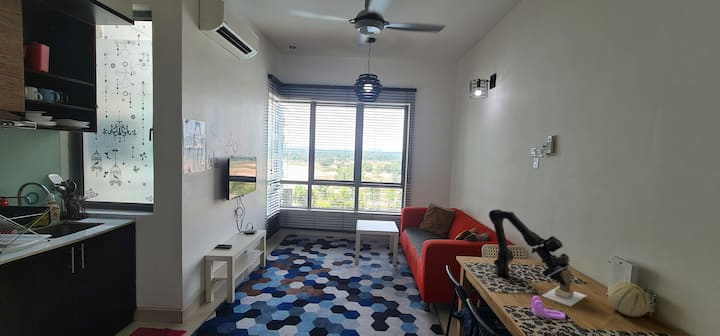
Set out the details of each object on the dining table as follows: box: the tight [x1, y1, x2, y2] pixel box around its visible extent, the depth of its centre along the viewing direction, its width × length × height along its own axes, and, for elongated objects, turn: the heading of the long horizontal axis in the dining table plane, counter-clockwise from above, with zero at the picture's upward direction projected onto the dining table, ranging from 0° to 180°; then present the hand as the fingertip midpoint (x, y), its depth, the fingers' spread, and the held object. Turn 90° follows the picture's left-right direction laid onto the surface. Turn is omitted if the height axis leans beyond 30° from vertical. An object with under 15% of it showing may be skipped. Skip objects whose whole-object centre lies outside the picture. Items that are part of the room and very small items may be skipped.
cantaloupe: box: [607, 281, 651, 318], centre depth 144 cm, size 15×15×15 cm
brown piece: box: [554, 269, 575, 300], centre depth 159 cm, size 7×6×13 cm
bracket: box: [531, 295, 566, 321], centre depth 142 cm, size 13×6×7 cm, turn 73°
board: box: [541, 285, 587, 307], centre depth 160 cm, size 20×13×1 cm, turn 126°
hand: (568, 284), depth 158 cm, fingers open, 6 cm apart
